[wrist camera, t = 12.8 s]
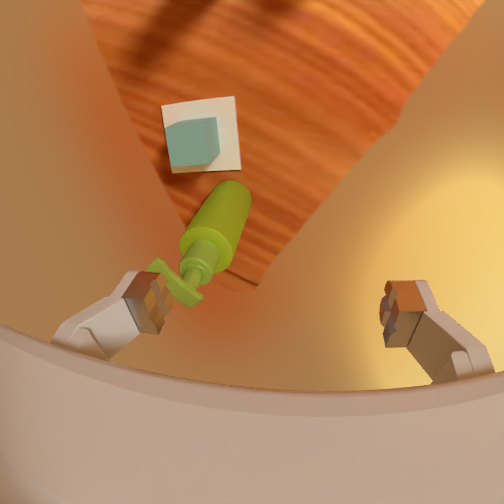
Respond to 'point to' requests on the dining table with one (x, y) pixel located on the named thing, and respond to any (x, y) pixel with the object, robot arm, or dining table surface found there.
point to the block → (193, 142)
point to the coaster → (225, 122)
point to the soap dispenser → (208, 241)
